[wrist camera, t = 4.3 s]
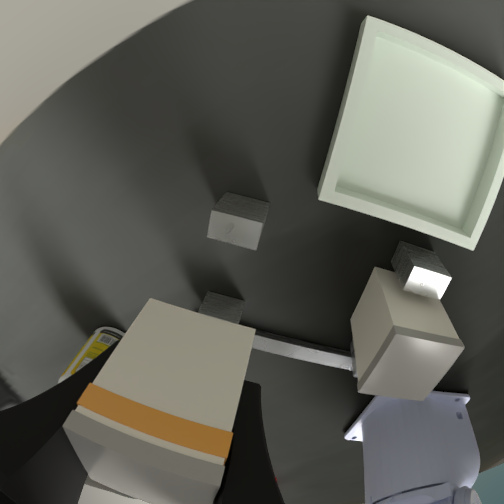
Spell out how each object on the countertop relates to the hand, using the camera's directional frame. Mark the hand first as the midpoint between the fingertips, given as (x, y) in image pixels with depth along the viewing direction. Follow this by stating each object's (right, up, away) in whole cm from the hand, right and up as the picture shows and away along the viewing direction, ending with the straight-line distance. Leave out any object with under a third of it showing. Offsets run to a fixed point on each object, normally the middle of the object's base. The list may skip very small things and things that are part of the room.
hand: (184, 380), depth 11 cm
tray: (+11, +11, +3) cm, 16 cm away
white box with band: (0, +1, +1) cm, 2 cm away
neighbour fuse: (+11, +2, +8) cm, 14 cm away
